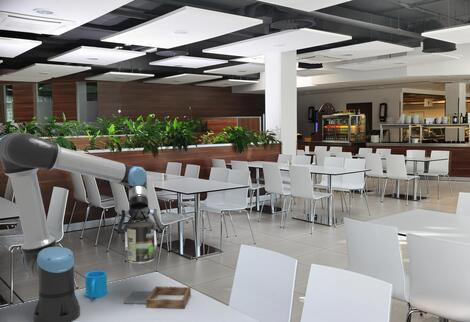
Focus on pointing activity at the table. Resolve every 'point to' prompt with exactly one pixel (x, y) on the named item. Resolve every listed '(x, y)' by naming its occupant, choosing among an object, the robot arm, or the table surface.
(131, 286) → the table surface
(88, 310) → the table surface
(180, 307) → the crate
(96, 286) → the mug
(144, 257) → the coffee can
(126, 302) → the mat
